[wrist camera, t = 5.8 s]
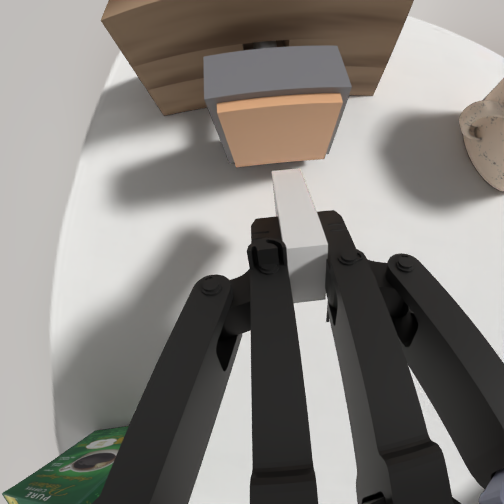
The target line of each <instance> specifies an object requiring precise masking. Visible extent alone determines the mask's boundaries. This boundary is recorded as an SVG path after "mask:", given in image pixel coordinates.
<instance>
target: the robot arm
mask: <svg viewBox="0 0 504 504" xmlns="http://www.w3.org/2000/svg"><path fill="white" fill-rule="evenodd" d="M272 180H273V190H274V200H275V210H276V217H268V218H259V219H255V221H254V222H253V224H252V225H251V240H252V241H251V244H250V245H249V246H248V249H247V255H248V261H249V267H250V269H249V270H248V271H247V272H246V273H245V274H243V275H242V276H240V277H238V278H235V279H232V280H229V279H227V278H226V277H225V276H222V275H209V276H206V277H203V278H202V279H200V280H199V281H198V282H197V283H196V284H195V286H194V287H193V289H192V291H191V293H190V295H189V297H188V300H187V302H186V304H185V306H184V308H183V310H182V312H181V314H180V316H179V318H178V320H177V322H176V324H175V326H174V328H173V330H172V333H171V335H170V337H169V339H168V341H167V343H166V345H165V347H164V349H163V352H162V354H161V356H160V358H159V360H158V362H157V364H156V367H155V369H154V371H153V373H152V375H151V378H150V380H149V382H148V384H147V386H146V389H145V391H144V393H143V395H142V397H141V400H140V402H139V404H138V406H137V409H136V411H135V413H134V415H133V418H132V420H131V422H130V425H129V427H128V429H127V432H126V434H125V436H124V439H123V441H122V443H121V446H120V448H119V450H118V453H117V455H116V457H115V460H114V462H113V465H112V467H111V470H110V472H109V474H108V477H107V479H106V482H105V484H104V487H103V489H102V492H101V494H100V496H99V497H98V498H97V499H96V500H95V501H94V502H93V503H92V504H188V502H189V499H190V496H191V493H192V490H193V487H194V484H195V481H196V478H197V475H198V472H199V469H200V466H201V463H202V460H203V457H204V454H205V451H206V448H207V445H208V442H209V439H210V436H211V433H212V429H213V426H214V423H215V420H216V417H217V414H218V411H219V408H220V404H221V401H222V398H223V395H224V392H225V389H226V386H227V382H228V379H229V376H230V373H231V370H232V366H233V363H234V360H235V357H236V354H237V350H238V347H239V344H240V341H241V337H242V333H244V332H247V331H250V330H251V384H252V452H253V470H252V475H251V480H250V504H318V496H317V485H316V477H315V472H314V468H313V461H312V451H311V441H310V432H309V422H308V413H307V404H306V396H305V387H304V379H303V371H302V363H301V355H300V348H299V340H298V333H297V326H296V318H295V311H294V304H293V303H298V302H307V301H316V300H324V299H325V296H326V294H327V298H328V306H327V318H326V322H329V319H330V323H331V328H332V332H333V337H334V341H335V346H336V351H337V356H338V361H339V366H340V371H341V376H342V381H343V386H344V391H345V397H346V402H347V408H348V414H349V420H350V426H351V432H352V438H353V444H354V451H355V458H356V465H357V479H356V492H357V501H358V504H461V503H460V502H458V501H457V500H455V499H454V498H453V497H452V494H451V489H450V483H449V478H448V473H447V468H446V464H445V459H444V456H443V453H442V450H441V448H440V447H439V445H438V444H436V443H435V442H433V441H431V439H430V438H429V435H428V432H427V429H426V425H425V421H424V417H423V414H422V410H421V406H420V403H419V399H418V396H417V393H416V389H415V386H414V383H413V380H412V376H411V373H410V370H409V367H410V368H411V370H412V372H413V373H414V375H415V376H416V378H417V380H418V381H419V383H420V385H421V386H422V388H423V390H424V391H425V393H426V395H427V396H428V398H429V400H430V401H431V403H432V405H433V406H434V408H435V410H436V412H437V413H438V415H439V417H440V419H441V420H442V422H443V424H444V426H445V427H446V429H447V431H448V433H449V435H450V436H451V438H452V440H453V442H454V444H455V446H456V447H457V449H458V451H459V453H460V455H461V457H462V459H463V461H464V463H465V465H466V466H467V468H468V470H469V471H470V473H471V475H472V476H473V477H474V478H475V480H476V481H477V482H478V483H479V484H480V485H481V486H482V487H483V488H484V489H485V491H484V492H483V493H482V494H481V495H480V497H479V504H504V363H503V362H502V360H501V359H500V358H499V356H498V355H497V354H496V352H495V351H494V349H493V348H492V347H491V345H490V344H489V343H488V341H487V340H486V339H485V338H484V336H483V335H482V334H481V332H480V331H479V330H478V328H477V327H476V326H475V325H474V323H473V322H472V321H471V320H470V318H469V317H468V316H467V315H466V314H465V312H464V311H463V310H462V309H461V308H460V306H459V305H458V304H457V303H456V302H455V300H454V299H453V298H452V297H451V296H450V295H449V293H448V292H447V291H446V290H445V289H444V288H443V287H442V286H441V284H440V283H439V282H438V281H437V280H436V279H435V278H434V277H433V276H432V274H431V273H430V272H429V271H428V270H427V269H426V268H425V267H424V266H423V265H422V264H421V263H420V262H419V260H417V259H416V258H415V257H413V256H410V255H408V254H395V255H393V256H392V257H390V259H389V260H388V263H381V262H374V261H370V260H368V259H367V258H366V256H365V255H364V254H363V253H362V252H361V251H359V250H358V249H356V247H355V245H354V243H353V241H352V238H351V236H350V234H349V232H348V230H347V227H346V225H345V223H344V221H343V219H342V216H341V215H339V214H338V213H337V212H336V211H334V210H332V211H321V212H317V211H316V209H315V206H314V203H313V200H312V198H311V195H310V192H309V190H308V187H307V184H306V182H305V179H304V176H303V174H302V171H301V169H300V168H298V169H287V170H277V171H272ZM408 365H409V367H408Z"/></svg>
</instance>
